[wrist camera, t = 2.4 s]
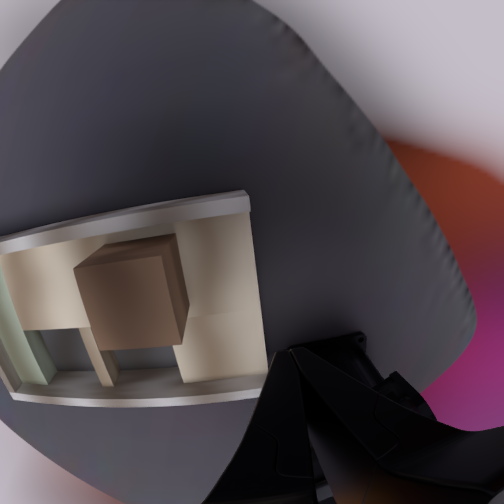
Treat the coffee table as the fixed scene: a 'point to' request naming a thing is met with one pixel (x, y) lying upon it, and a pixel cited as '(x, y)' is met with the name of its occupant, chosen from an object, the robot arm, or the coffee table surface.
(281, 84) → the coffee table surface
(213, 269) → the grey slotted tray
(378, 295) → the coffee table surface
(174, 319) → the walnut block
